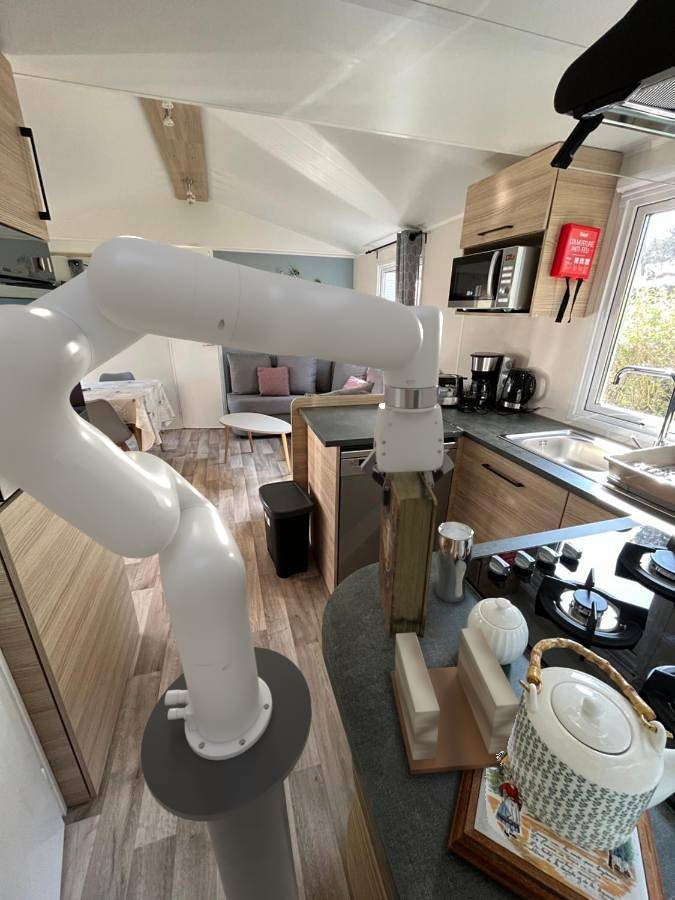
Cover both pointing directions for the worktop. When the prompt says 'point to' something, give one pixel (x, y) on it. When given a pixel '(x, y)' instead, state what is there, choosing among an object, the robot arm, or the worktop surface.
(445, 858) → the worktop surface
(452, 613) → the worktop surface
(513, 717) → the book rack
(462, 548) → the silver metal cylinder
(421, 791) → the worktop surface
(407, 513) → the book
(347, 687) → the worktop surface
